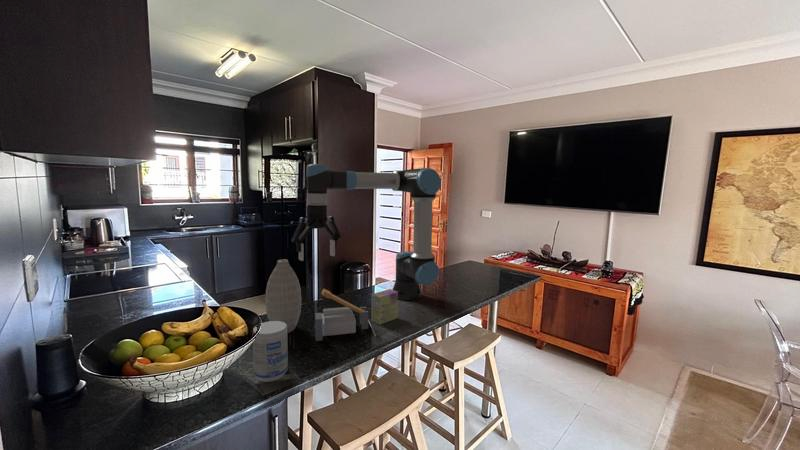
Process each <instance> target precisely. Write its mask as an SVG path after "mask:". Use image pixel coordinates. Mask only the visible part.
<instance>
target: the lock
mask: <svg viewBox="0 0 800 450" xmlns="http://www.w3.org/2000/svg"><path fill="white" fill-rule="evenodd" d="M322 314H323V312H315V313H314V316H315V323H314V324H315V329H314V330H315V342H321V341H323V340H324V339H323V337H324V336H323V318H322Z"/></svg>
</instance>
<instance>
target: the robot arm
mask: <svg viewBox="0 0 800 450" xmlns="http://www.w3.org/2000/svg"><path fill="white" fill-rule="evenodd" d="M441 186H442V180H441V176H440V175H439V173H438V172H437V171H436V170H435V169H433V168H429V167H421V168H411V169H405V170H393V171H392V172H368V171H367V172H363V171H362V172H361V171H358V172H357V171H353V170H331V169H328V167H327V164H321V163H320V164H319V163H310V164H308V165H307V167H306V203H307V205H306V214H307V217H302V216H301V217H299V220H298V221H299V222H298V223H297V227H296V229H295V231H294V233H293V235H292V238H291V243H295V244H296V245H295V246H296V248H295V249H296V252H298V260H299V261H301V262H304V257H305V256H304V255H305V253H304V249H305V248H304V245H305V244H304V243H303V242H304V240H305V239H306V237H307V236H308V234H309V233H310V232H311V231H312V230H314V229H323V230H324V231H325V232H326V234H327V235H328V236H329V238H330V239H329V256H331V257H336V248H337V247H338V246H337V244H338V240H339V239H341V237H342V236H341V233H340V231H339V228H338V226H337V224H336V222H335V217H334V216H333V215H329V216H327V214H328V207H327V204H328V190H337V191H341V190H346V191H348V190H376V189H377V190H380V189H381V190H392V191H393V192H405V193H409V194H410V199H411V200H412V201H413V242H412V243H413V244H412V247H413V249H412V250H413V251H412V250H411V251H400V252H397V253H396V255H395V280H394V281H395V282H394V284H393V286H392V287H393V288H392V290H394V291H397V292H398V301H399V300H400V301H415V300H419V299H420V298H421V297H422V291H421V287H420V285H423V286H428V285H429V286H430V285H431V284H433V283H434V282H435V281H436V280H437V279H438V277H439V274H440V267H439V265H438V264H437V263H436V262H435V259H436V257H435V254H434V253H433V252H432V251H433V250H432V249H433V248H432V247H433V245H432V243H433V241H432V239H433V236H432V235H433V202H434V200H435V199H436V198H437V193H438V192H439V190H441ZM327 222H328V223H329V225H328V223H327ZM306 223H307V225H306V226H305V224H306ZM329 226H330V227H329ZM304 227H305V228H304ZM303 229H304V230H303Z"/></svg>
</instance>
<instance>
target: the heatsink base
mask: <svg viewBox="0 0 800 450" xmlns="http://www.w3.org/2000/svg"><path fill="white" fill-rule="evenodd" d="M359 308H360V309H362V310H365V311H362V314H360V313H359V325H360V326H361V330H368V329H369V326H370V328H371V331H372V333H373V335H374V337H375V338H377V334H376V332H375V330H374V328H373V326H372V323H371V321H370V320H369V311H368V310H367V306H360V307H359ZM322 318H323V337H328V336H337V335H347V334H355V333H356V332H357V328H356V327H357V320H356V318H355V314H354V313H353V310H352V309H350V308H348V307H346V306H344V307H343V306H342V307H331V308H323V309H322Z"/></svg>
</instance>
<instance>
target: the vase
mask: <svg viewBox="0 0 800 450" xmlns="http://www.w3.org/2000/svg"><path fill="white" fill-rule="evenodd" d="M267 280H268V281H267V284H266V289H265V312H266V316H267V320H268V322H269V321H281V322H284V323H285V324H286V325H287V334H289V333H291V332H293V331H294V330H295V329H296V327H297V325H298V322H299V320H300V316H301V311H302V289H301V284H300V282H299V278H298V276H297V274H296V272H295V271H294V269H293V268H292V267H291V264H290V263H289V260H288V259H285V258H284V259H283V258H281V259H278V260H276V265H275V267H274V269H273V270H272V272H271V274H270V276H269V278H268V279H267Z"/></svg>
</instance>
